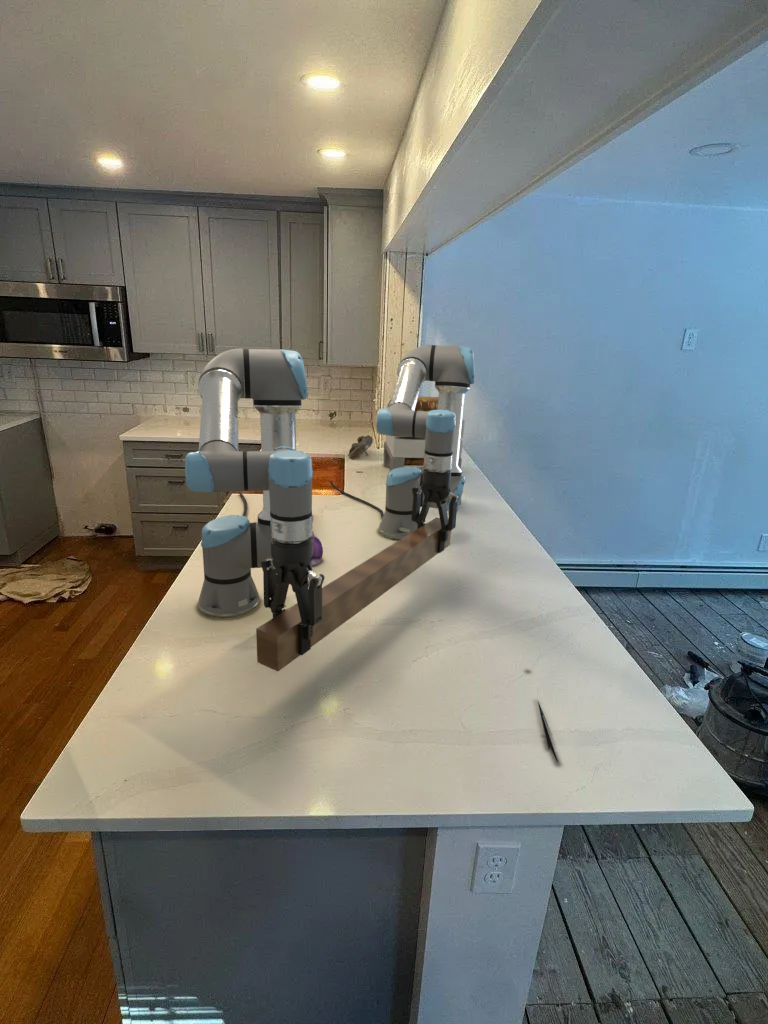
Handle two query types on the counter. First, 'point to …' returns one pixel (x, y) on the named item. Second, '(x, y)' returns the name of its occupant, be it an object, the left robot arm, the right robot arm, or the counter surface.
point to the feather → (547, 731)
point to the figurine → (316, 549)
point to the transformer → (412, 442)
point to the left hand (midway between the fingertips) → (293, 646)
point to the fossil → (360, 446)
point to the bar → (348, 595)
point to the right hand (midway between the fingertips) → (431, 548)
